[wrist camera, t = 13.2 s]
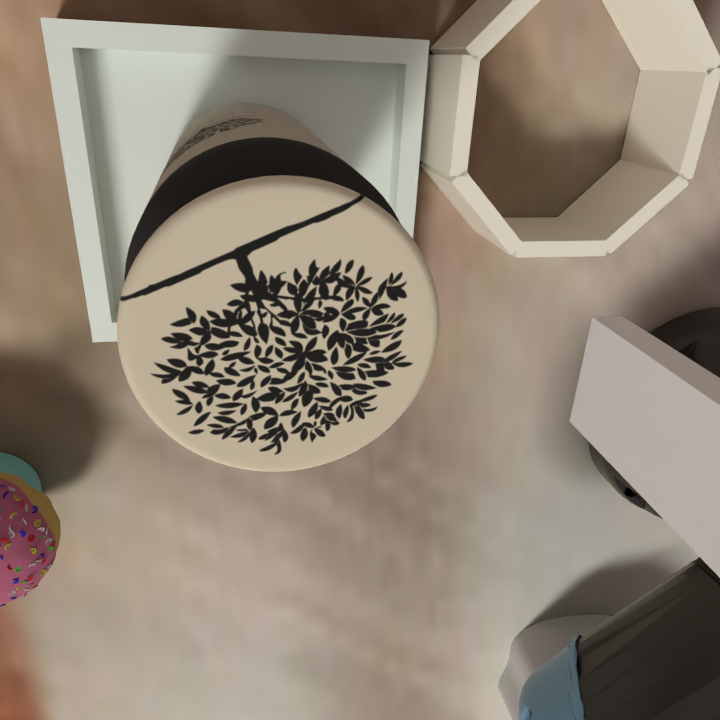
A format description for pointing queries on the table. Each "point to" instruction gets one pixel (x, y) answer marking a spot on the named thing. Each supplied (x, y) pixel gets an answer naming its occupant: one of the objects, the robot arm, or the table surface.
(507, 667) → the lumpy-topped squat cylinder
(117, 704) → the table surface
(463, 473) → the table surface
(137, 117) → the tray
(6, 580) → the cupcake
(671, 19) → the holder
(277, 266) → the travel mug
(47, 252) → the table surface
